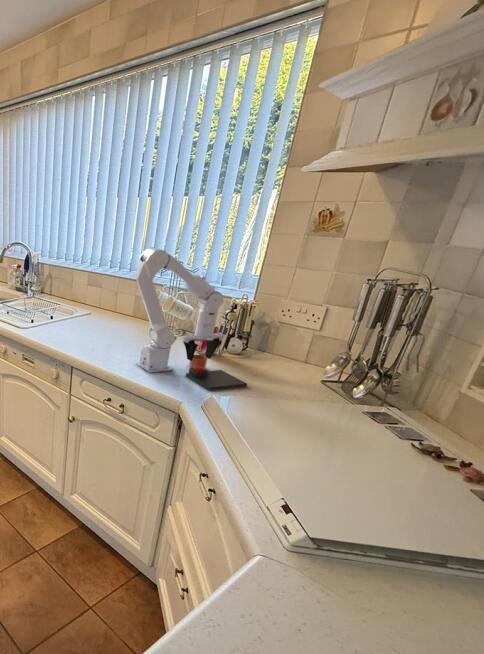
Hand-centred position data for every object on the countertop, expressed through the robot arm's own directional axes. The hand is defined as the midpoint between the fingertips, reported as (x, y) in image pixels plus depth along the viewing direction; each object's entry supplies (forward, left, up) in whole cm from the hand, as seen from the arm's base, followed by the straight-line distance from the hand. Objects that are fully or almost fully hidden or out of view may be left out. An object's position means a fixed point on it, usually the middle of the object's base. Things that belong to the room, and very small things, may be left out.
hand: (198, 358), depth 146 cm
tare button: (-6, -8, -1) cm, 10 cm away
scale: (-2, -12, -4) cm, 13 cm away
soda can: (+14, +14, -4) cm, 20 cm away
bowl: (0, 0, -4) cm, 4 cm away
